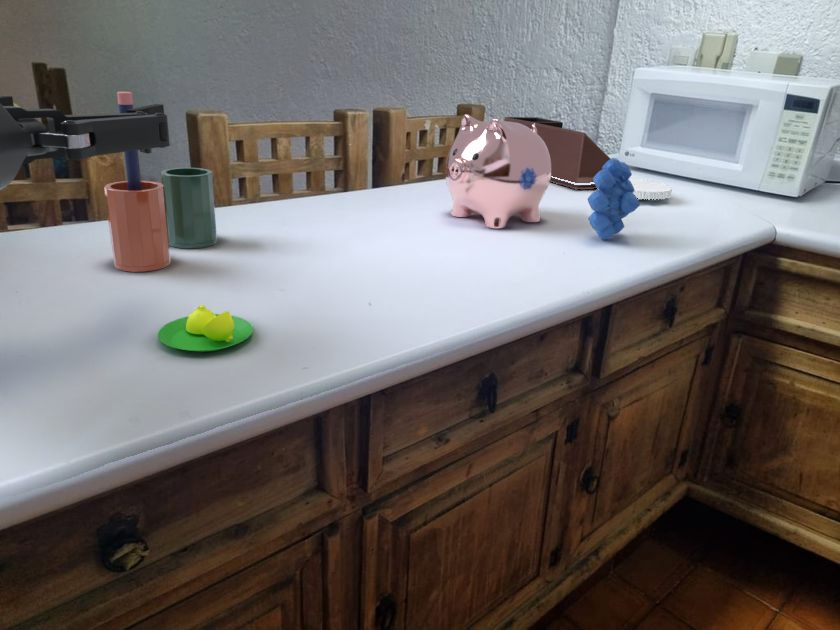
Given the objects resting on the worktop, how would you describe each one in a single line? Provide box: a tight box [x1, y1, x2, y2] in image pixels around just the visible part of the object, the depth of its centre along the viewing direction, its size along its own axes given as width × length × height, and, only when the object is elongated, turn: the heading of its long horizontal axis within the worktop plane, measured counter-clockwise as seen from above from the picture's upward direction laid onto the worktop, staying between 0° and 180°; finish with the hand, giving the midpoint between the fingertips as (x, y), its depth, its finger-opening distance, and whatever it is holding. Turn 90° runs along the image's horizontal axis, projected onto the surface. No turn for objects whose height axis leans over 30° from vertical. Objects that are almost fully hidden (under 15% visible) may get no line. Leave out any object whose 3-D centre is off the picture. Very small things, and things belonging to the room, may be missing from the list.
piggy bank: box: [444, 113, 552, 230], centre depth 103 cm, size 15×18×16 cm
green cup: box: [160, 167, 217, 250], centre depth 83 cm, size 6×6×9 cm
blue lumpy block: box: [587, 157, 640, 240], centre depth 95 cm, size 12×7×12 cm, turn 140°
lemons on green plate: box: [157, 304, 254, 353], centre depth 58 cm, size 8×8×3 cm
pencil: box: [116, 91, 142, 190], centre depth 72 cm, size 1×1×18 cm
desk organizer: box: [503, 116, 611, 191], centre depth 145 cm, size 10×29×11 cm, turn 27°
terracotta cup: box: [103, 180, 172, 273], centre depth 74 cm, size 6×6×9 cm
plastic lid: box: [629, 177, 673, 201], centre depth 129 cm, size 14×14×2 cm
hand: (86, 115), depth 61 cm, fingers open, 13 cm apart
